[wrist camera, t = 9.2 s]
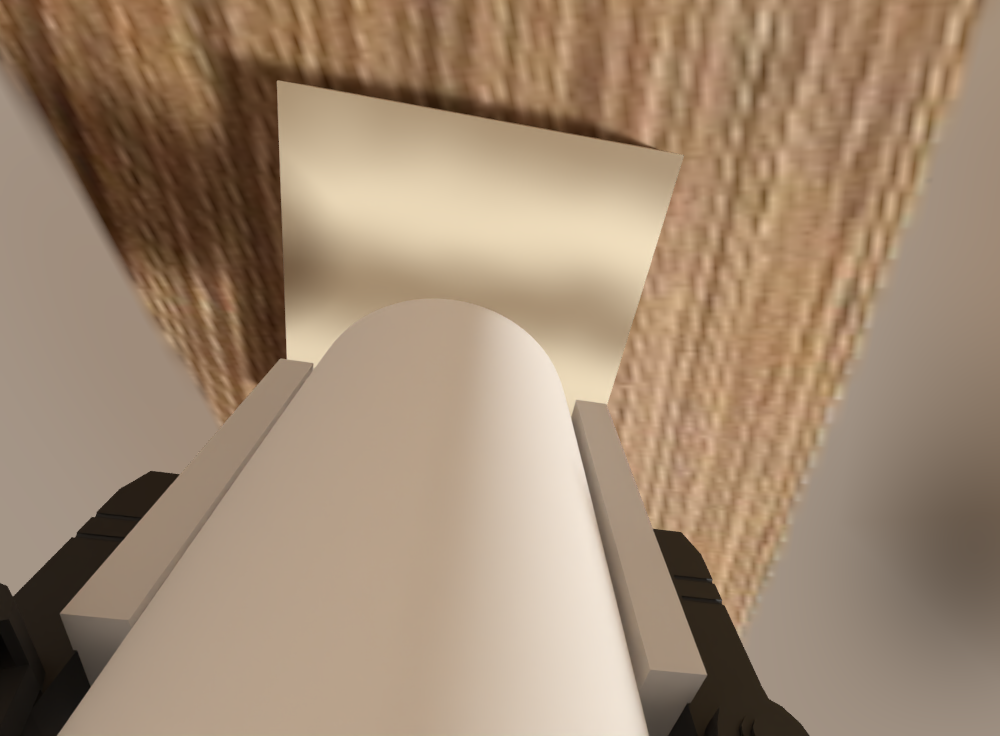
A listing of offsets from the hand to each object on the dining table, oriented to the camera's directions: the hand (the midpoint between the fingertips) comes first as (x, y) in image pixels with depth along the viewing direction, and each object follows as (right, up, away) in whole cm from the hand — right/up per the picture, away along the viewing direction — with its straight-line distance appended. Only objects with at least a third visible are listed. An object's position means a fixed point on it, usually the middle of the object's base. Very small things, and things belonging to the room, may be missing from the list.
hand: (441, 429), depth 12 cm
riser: (0, +5, +10) cm, 12 cm away
